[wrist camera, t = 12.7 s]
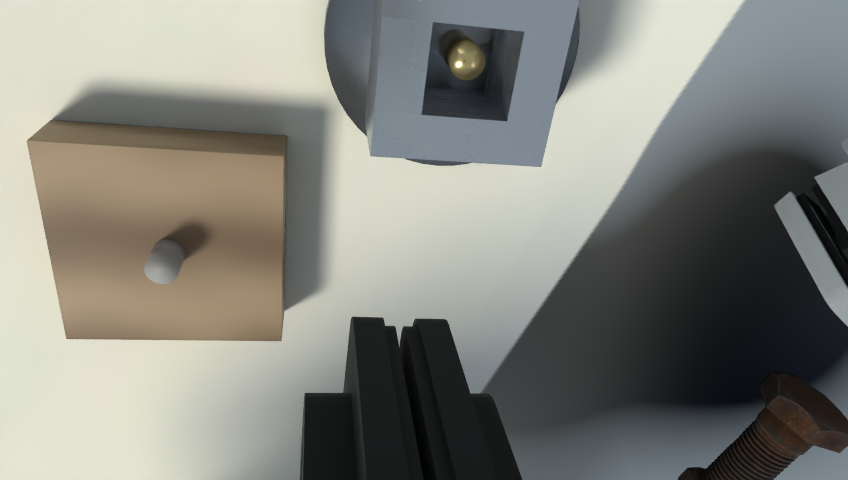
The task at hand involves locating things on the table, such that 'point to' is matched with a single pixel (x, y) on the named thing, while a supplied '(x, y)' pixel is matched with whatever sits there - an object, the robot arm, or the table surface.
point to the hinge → (823, 233)
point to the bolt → (779, 433)
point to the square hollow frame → (461, 109)
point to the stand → (163, 230)
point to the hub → (447, 64)
